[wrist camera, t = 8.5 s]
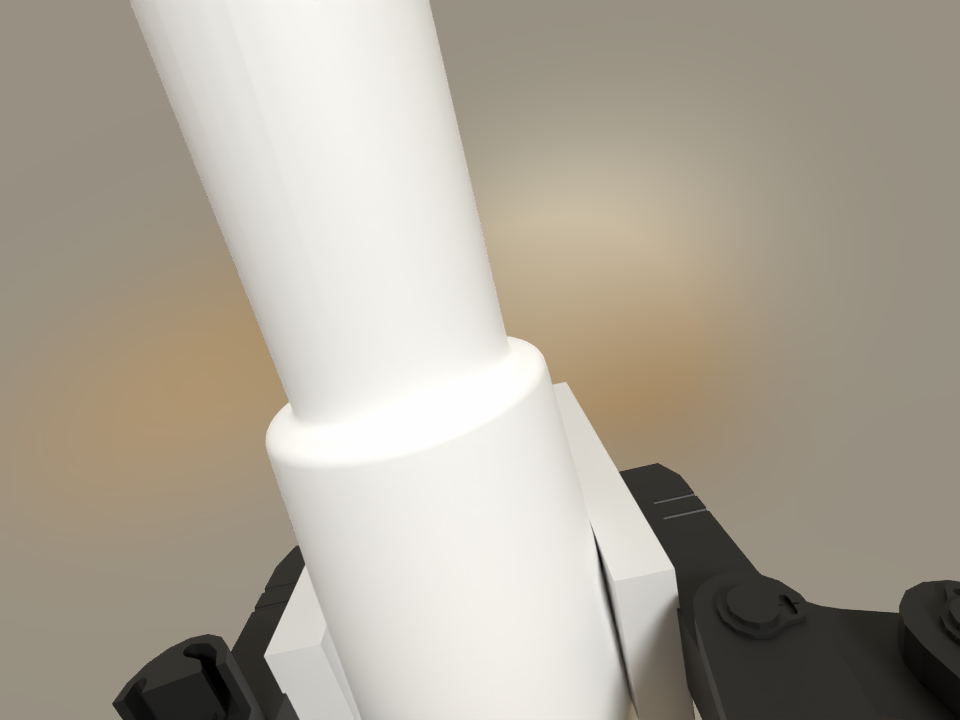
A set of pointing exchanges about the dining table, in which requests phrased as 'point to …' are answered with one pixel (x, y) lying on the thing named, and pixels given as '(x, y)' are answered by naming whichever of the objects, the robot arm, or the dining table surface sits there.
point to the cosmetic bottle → (393, 362)
